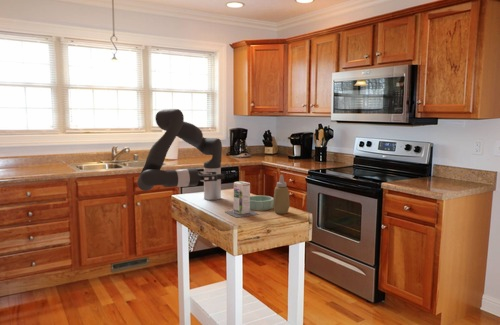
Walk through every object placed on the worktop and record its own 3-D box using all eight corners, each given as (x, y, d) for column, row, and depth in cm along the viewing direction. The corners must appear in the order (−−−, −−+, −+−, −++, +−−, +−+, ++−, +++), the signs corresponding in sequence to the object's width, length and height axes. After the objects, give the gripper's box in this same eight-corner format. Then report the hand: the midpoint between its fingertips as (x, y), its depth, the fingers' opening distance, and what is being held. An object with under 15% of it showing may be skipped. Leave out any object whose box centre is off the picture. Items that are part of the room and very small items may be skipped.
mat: (224, 212, 187) (224, 211, 187) (246, 209, 193) (246, 208, 193) (236, 217, 177) (236, 217, 177) (259, 214, 183) (259, 213, 183)
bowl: (240, 205, 200) (240, 197, 200) (263, 202, 207) (263, 194, 207) (254, 211, 188) (254, 202, 188) (278, 208, 195) (279, 199, 195)
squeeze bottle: (283, 209, 192) (284, 173, 190) (293, 213, 185) (293, 175, 183) (269, 211, 188) (269, 174, 186) (278, 215, 181) (279, 176, 179)
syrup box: (232, 212, 185) (232, 182, 183) (242, 210, 189) (242, 180, 187) (240, 214, 181) (240, 183, 179) (250, 212, 185) (250, 182, 183)
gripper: (191, 170, 162) (227, 168, 170) (179, 167, 175) (213, 165, 183) (192, 188, 163) (227, 185, 171) (180, 183, 175) (213, 181, 183)
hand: (219, 175), depth 177 cm, fingers open, 8 cm apart
